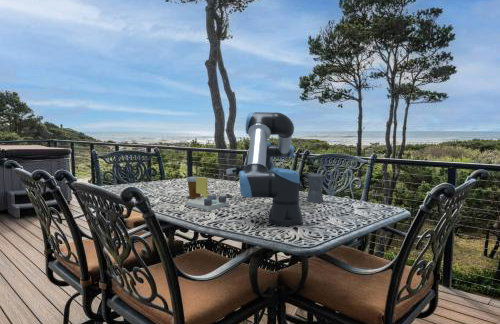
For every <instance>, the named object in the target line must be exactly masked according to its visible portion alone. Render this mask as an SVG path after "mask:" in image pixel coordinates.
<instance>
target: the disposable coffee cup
mask: <svg viewBox="0 0 500 324" xmlns="http://www.w3.org/2000/svg"><path fill="white" fill-rule="evenodd" d="M196 177H197V176H187V179H186V181H187V187H188V193H189V198H191V199H200V198H201V195H202V194H199V193H196Z"/></svg>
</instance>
